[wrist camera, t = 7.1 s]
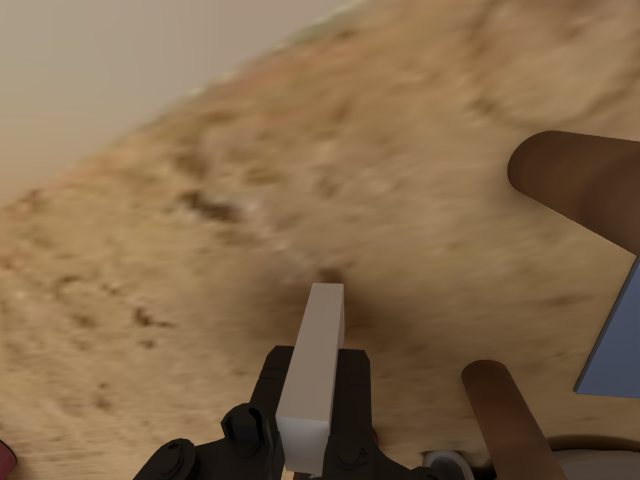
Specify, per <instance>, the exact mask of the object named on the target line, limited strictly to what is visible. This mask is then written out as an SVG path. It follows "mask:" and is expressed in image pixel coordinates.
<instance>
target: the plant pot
mask: <svg viewBox="0 0 640 480" xmlns="http://www.w3.org/2000/svg"><path fill="white" fill-rule="evenodd" d="M15 464H16V461H15V458H14V456H13V454H12V453H11V452H10V450H9V449H8V448H7V447H6V446H5V445H3V444H2V443H1V442H0V480H5V479H6V477H7V476H8V475H9V473H10V472H11V471H12V469H13V468H14V466H15Z"/></svg>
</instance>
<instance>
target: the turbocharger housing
mask: <svg viewBox="0 0 640 480" xmlns="http://www.w3.org/2000/svg"><path fill="white" fill-rule="evenodd" d="M553 454H554V455H555V457H556V459H557V461H558V463H559V465H560V466H561V468H562V470H563V472H564V474H565V476H566V477H567V479H568V480H640V453H637V452H632V451H598V450H589V449H573V450H563V451H553ZM422 467H430V468H432V469H434V470H436V471H438V472H440V473H441V474H442V475H443V476H444V477H446V478H447V479H448V480H475V479H474V477H473V474H472V471H471V469H470V467H469V465H468V464H467V462H466V460H465V459H464V458H463V457H462V456H461V455H460V454H458V453H457V452H455V451H453V450H437V451H430V452H428V454H427V455H426V456H425V458H424V460H423V464H422ZM494 480H499V479H498V476H496V478H495V479H494Z"/></svg>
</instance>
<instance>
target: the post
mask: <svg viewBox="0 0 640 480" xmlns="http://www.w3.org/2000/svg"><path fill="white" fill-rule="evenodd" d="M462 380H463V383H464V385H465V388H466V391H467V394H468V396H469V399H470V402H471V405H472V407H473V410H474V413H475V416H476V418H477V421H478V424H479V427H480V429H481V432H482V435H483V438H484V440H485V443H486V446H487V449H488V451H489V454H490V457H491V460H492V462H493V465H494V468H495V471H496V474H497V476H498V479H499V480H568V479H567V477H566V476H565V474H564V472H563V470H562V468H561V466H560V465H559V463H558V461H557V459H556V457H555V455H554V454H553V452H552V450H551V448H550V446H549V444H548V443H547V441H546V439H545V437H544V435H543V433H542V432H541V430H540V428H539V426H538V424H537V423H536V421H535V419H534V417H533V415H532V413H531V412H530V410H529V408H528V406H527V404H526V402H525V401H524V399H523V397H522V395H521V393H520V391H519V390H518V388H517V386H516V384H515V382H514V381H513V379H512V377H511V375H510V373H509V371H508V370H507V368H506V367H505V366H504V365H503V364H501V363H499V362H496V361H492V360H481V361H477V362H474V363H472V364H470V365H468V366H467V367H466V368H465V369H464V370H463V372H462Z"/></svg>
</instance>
